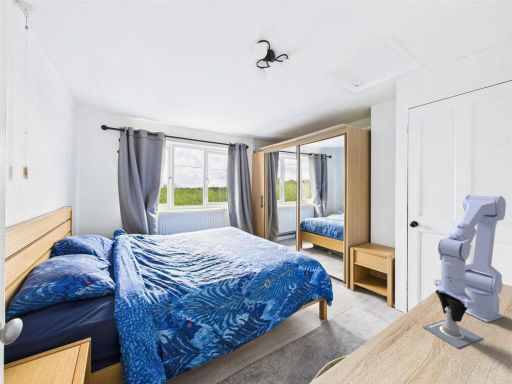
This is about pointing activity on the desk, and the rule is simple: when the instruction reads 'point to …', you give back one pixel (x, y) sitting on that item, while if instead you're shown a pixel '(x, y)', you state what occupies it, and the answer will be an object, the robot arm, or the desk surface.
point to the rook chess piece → (450, 324)
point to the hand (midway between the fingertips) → (451, 317)
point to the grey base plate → (456, 341)
